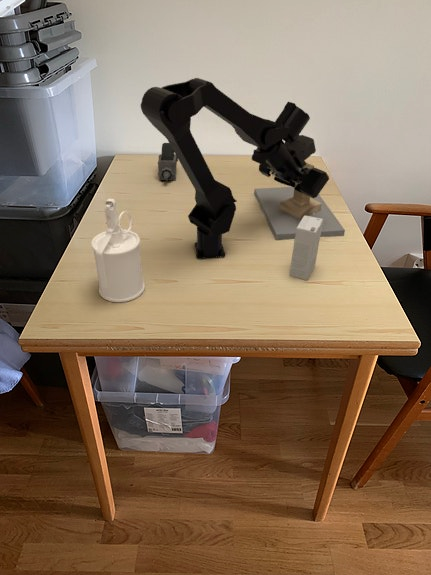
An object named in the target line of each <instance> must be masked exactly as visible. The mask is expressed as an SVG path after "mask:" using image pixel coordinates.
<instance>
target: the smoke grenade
mask: <svg viewBox="0 0 431 575" xmlns="http://www.w3.org/2000/svg"><path fill="white" fill-rule="evenodd" d="M104 204H105V207H104V213H105V219H106V221H105V224H106V227H107V228H106V230H104V231H102V232H100V233H98V234H96V235H95V236H94V237H93V238H92V239H91V242H90V246H91V249H92V251H93V255H94V260H95V266H96V267H95V268H96V273H97V278H98V284H99V285H98V286H99V287H98V294H99V295H100V296H101V297H102V298H103V299H104V300H106V301H107V302H108V301H109V302H112V303H126V302H130V301H133V300H136V299H137V298H139V296H141V295H142V294H143V293H144V291H145V288H146V286H145V281H144V280H143V279H144V278H143V268H142V259H141V250H140V244H141V237H140V235H138V234H137V233H136V232H135V231H132V226H133V219H132V215H131V214H130V212H129V211H126V210H124V211H122V212H121V213H120V214H119V216H118V210H117V209H118V208H117V202H116V201H115V199H114V198H108V199H106V200H105V203H104ZM124 214H127V216H128V217H129V218H128V220H129V226H128V228H127V229H125V228H122V227H121V223H120V221H121V220H122V217H123V215H124Z"/></svg>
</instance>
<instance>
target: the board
mask: <svg viewBox="0 0 431 575" xmlns="http://www.w3.org/2000/svg"><path fill="white" fill-rule="evenodd" d="M253 190H254V192H253V194H254V196H255V198H257V199H256V201H257V200H258V201H257V203H258V204H259V207H260V209H261V211H262V214H263V215H264V218H265V220H266V222H267V224H268V225H269V228H270V230H271V232H272V234H273V236H274V239H275V240H276V241H279V240H293V239H294V240H295V235H296V228H297V227H298V225H299V223H300V222H301V220H302V218H301V219H298V218H296V217H294V216H292V215H290V214H288V213H286V212H284V211H283V210H281V209H280V202H282V201H284V200H287V199H290V198H292V197H293V195H294V187H291V186H283V187H281V186H278V187H259V188H254V189H253ZM310 198H312V197H310ZM312 199H314V200H316V201H318V202H320V203H322V205H321V210H320V211H318V212H315V213H313V214H311V215H308V216H311V217H316V218H321V219H323V225H322V230H321V235H320V238H326V237H328V238H329V237H342V236H345V232H346V230H345V228H344V227H343V225H342V223H340V221H339V220H338V219H337V217H336V216H335V215H334V213H333V212H332V210H331V209H330V208H329V206H328V204H326V202H325V200H324V199H323V198H322V196H321V195H320V193H319V194H318V196H317V197H316V198H312Z"/></svg>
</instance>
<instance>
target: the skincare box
mask: <svg viewBox="0 0 431 575" xmlns="http://www.w3.org/2000/svg"><path fill="white" fill-rule="evenodd" d="M322 225H323V219H321V218H316V217H311V216H304V217H303V218H302V220H301V222H300V223H299V225H298V227H297V228H296V235H295V239H294V241H293V247H292V248H293V249H292V256H291V262H290V267H289V268H290V269H289V276H290V277H293V278H297V279H300V280H303V281H304V280H305V281H308V280H309V278H310V277H311V274H312V272H313V270H314V269H315V267H316V262H317V258H318V257H317V256H318V253H319V245H320V240H321V237H320V235H321V230H322Z"/></svg>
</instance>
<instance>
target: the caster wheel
mask: <svg viewBox="0 0 431 575" xmlns="http://www.w3.org/2000/svg"><path fill="white" fill-rule="evenodd" d="M157 160H158V161H157V165H158V166H157V168H158V174H157V175H158V178H159V181H161V180H166V182H169V181H168V180H171V181H170V182H174V181H176V179H177V165H178V164H177V163H178V161H179V160H178V158H177V156H176V154H175V152H174V151H173V149H172V147H171V145H170V143H169V142H164V143H162V144H161V154H159V155H158V159H157ZM172 180H173V181H172Z"/></svg>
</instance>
